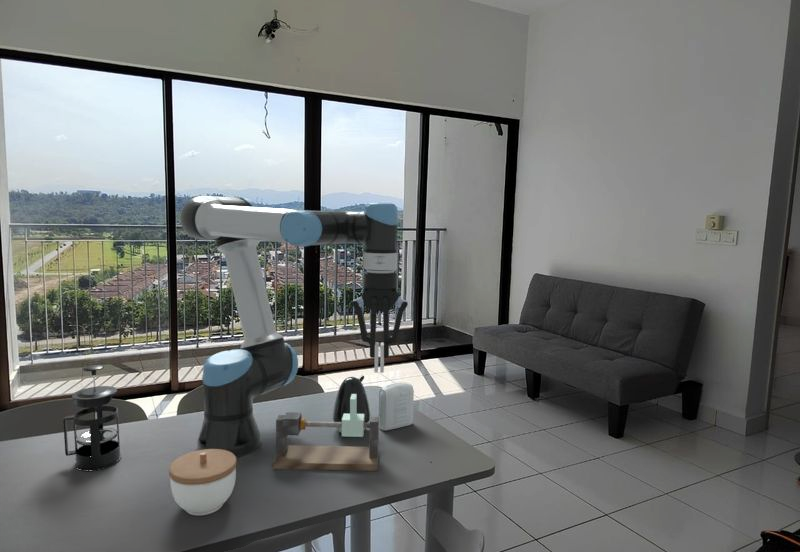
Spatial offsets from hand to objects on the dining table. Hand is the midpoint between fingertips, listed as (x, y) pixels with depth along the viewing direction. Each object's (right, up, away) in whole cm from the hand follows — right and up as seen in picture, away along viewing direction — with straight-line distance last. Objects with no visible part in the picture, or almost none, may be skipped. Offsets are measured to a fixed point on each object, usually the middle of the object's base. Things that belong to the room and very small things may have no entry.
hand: (379, 370), depth 122 cm
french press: (-66, -22, 0) cm, 70 cm away
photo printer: (+4, -20, +24) cm, 31 cm away
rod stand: (-12, -22, +3) cm, 25 cm away
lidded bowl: (-35, -24, -17) cm, 45 cm away
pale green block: (-6, -15, +2) cm, 17 cm away
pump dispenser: (-8, -20, +20) cm, 29 cm away
